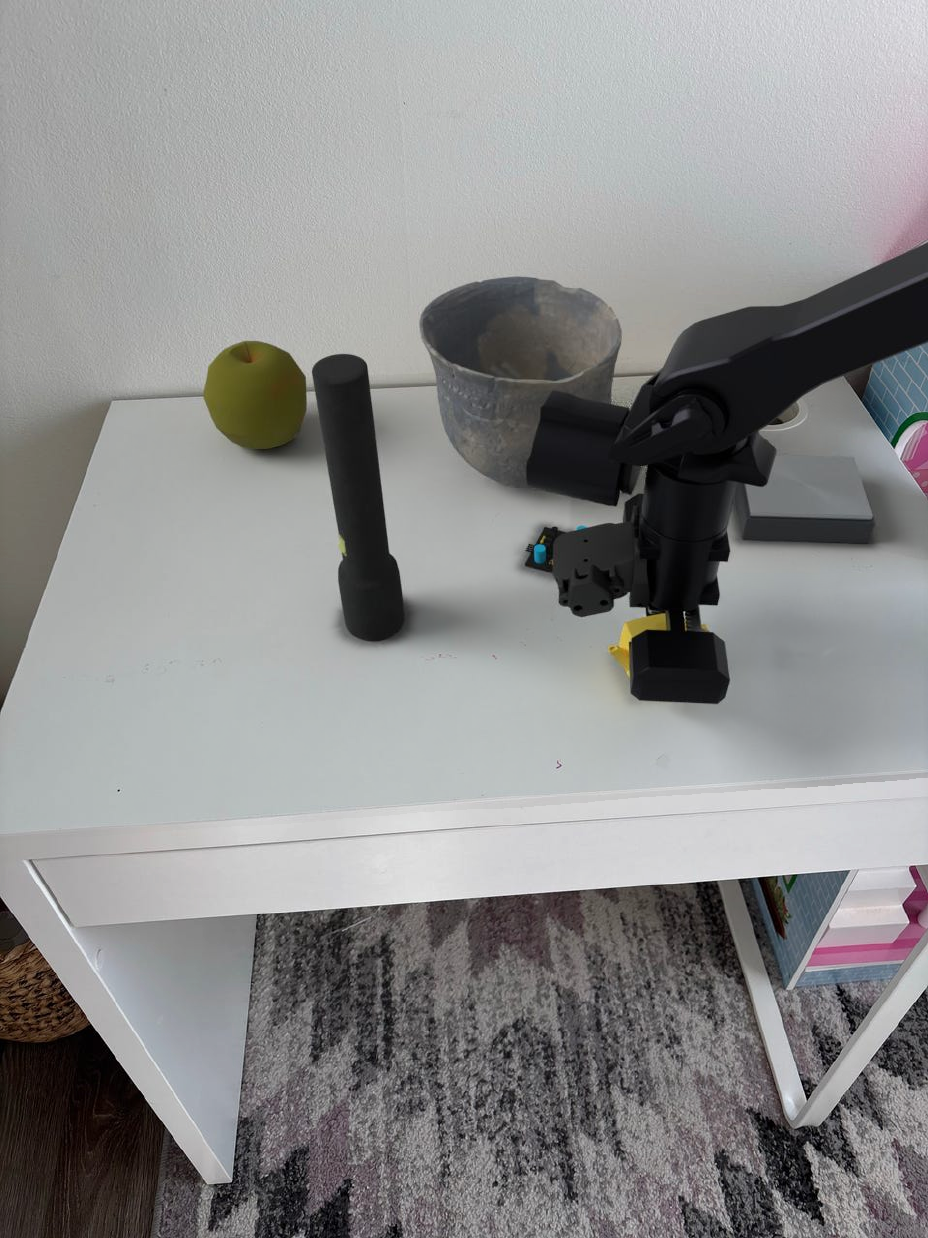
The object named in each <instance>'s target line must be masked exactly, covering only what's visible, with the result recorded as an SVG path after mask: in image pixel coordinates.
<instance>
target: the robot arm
mask: <svg viewBox="0 0 928 1238" xmlns="http://www.w3.org/2000/svg"><path fill="white" fill-rule="evenodd" d="M925 344H928V242H925V243H923V244H921V245H919V246H917V247H914V248H912V249H910V250H907V251H906V252H904V253H901V254H899V255H897V256H894V257H893V258H890V259H888V260H886V261H884V262H882V263H880V264H878V265H875V266H873V267H871V268H869V269H866V270H865V271H863V272H860V273H858V274H856V275H853V276H851V277H849V278H847V279H845V280H843V281H840V282H838V283H836V284H834V285H832V286H830V287H828V288H826V289H824V290H821V291H819V292H817V293H814V294H813V295H811V296H808V297H806V298H804V299H800V300H796V301H794V302H790V303H786V304H783V305H757V306H756V305H755V306H754V305H751V306H746V307H743V308H738V309H736V310H732V311H729V312H725V313H722V314H718V315H715V316H711V317H708V318H704V319H701V320H699V321H696V322H694V323H692V324H691V325H690V326H688V327H687V328H685V329H684V330H682V331H681V333H680V334H679V335H678V337H677V338H676V339H675V342H674V343H673V345H672V347H671V349H670V351H669V354H668V355H667V358H666V359H665V362H664V364H663V366H662V368H660V369H659V370H658V371H657V372H656V373H654V374H653V375H652V376H651V377H649V378H648V380H646V381H645V382H644V383H643V384H642V385H641V386H640V389H639V390H638V392H637V395H636V397H635V399H634V400H633V402H632V404H631V407H629V406H628V407H627V406H623V405H618V404H613V403H611V404H608V403H603V402H598V401H593V400H588V399H583V398H579V397H577V396H575V395H572V394H570V393H566V392H561V391H556V390H552V391H550V392H549V394H548V395H547V397H546V399H545V400H544V402H543V404H542V405H541V407H540V421H539V424H538V427H537V430H536V433H535V437H534V441H533V445H532V450H531V455H530V457H529V458H528V460H527V464H526V480H527V485H528V486H529V488H528V489H532V490H533V489H534V490H538V491H541V492H542V491H543V492H547V493H551V494H556V495H560V496H563V497H564V496H565V497H568V498H572V499H577V500H581V501H587V502H591V503H595V504H600V505H604V506H609V507H617V506H618V503H619V501H620V496H621V493H622V494H623V495H629V496H631V495H632V494H633V492H634V490H635V489H636V486H637V483H638V480H639V477H640V473H641V469H642V467H646V470H645V471H646V472H645V480H644V486H643V487H644V489H643V493H639V492H638V493H636V494H635V495H633V496H632V497H630V498H628V499H627V500H626V501H624V504H623V505H624V506H623V512H622V513H623V514H622V522H618V523H614V522H605V523H601V524H597V525H592V526H586V527H587V528H583V529H579V530H577V529H575V530H571V531H566V532H567V533H564V534H561V535H560V536H558V537H557V538H556V539H555V541H554V544H553V573H552V576H553V578H554V580H555V582H556V585H557V589H558V604H559V605H560V607H561V606H562V607H563V608H565V607H567V608H568V609H570V611H571V614H572V615H573V616H575V617H578V618H586V617H590V616H594V615H601V614H604V613H610V612H611V611H612V610H613V609H614V607H615V600H618V599H621V598H623V597H625V596H627V595H628V594H629V596H628V603H629V608H638V609H639V608H640V609H641V608H642V609H644V608H645V617H647V616H652V615H657V614H663V613H665V616H666V628H667V630H649V629H646V630H645V631H643V632H641V633H639V634H638V635H636V636H634V637H632V638H631V642H629V658H630V661H629V668H630V679H629V687H630V688H629V690H630V695H632V696H633V697H634V698H635V699H637V700H638V701H640V702H641V701H642V702H659V703H660V702H663V703H680V704H681V703H682V704H683V703H684V704H705V705H706V704H707V705H718V704H720V703H721V702H722V701H724V700H725V699H726V697H727V693H728V690H729V686H730V682H731V677H730V669H729V664H728V663H729V662H728V655H727V648H726V642H725V641H724V639H722V638H721V637H720V636H718V635H717V633H715V632H714V631H710V630H709V629H708V630H709V631H708V630H705V629H703V628H702V626H701V624H702V618H701V609H700V606H714V607H715V606H716V607H717V606H718V605H719V602H720V597H721V592H720V586H719V578H718V572H719V568H720V563H722V562H723V563H728V562H729V558H730V554H731V547H730V546H731V545H730V540H729V533H728V526H729V522H730V518H731V514H732V508H733V504H734V501H735V497H734V496H735V491H736V487H737V482H739V483H744V484H748V485H753V486H758V487H764V486H765V485H767V483H768V480H769V477H770V473H771V470H772V467H773V463H774V460H775V456H776V455H777V454H778V453H777V452H778V451H777V448H776V447H775V446H774V445H773V444H772V443H771V442H770V441H769V440H767V438H764V437H763V436H762V435H761V434H760V431H761V430H763V429H764V428H766V427H768V426H769V425H770V424H772V423H773V422H774V421H775V420H776V419H777V418H779V417H780V416H781V415H782V414H784V413H785V412H786V411H787V410H788V409H789V408H791V407H792V406H793V405H794V404H795V403H797V402H798V401H799V400H800V399H802V398H803V397H805V395H807V394H808V393H811V392H812V391H814V390H816V389H818V387H820V386H822V385H824V384H826V383H830V382H832V381H835V380H836V379H840V378H841V377H844V376H847V375H849V374H852V373H854V372H856V371H859V370H862V369H865V368H867V367H870V366H872V365H875V364H877V363H880V362H883V361H884V360H887V359H890V358H892V357H895V356H898V355H900V354H902V353H905V352H907V351H910V350H913V349H915V348H918V347H920V346H923V345H925ZM684 618H685V620H686V622H685V620H684ZM685 623H686V628H687V630H685Z"/></svg>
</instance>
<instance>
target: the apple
mask: <svg viewBox="0 0 928 1238" xmlns="http://www.w3.org/2000/svg"><path fill="white" fill-rule="evenodd" d="M307 395H308V394H307V377H306V375H305V374H304V372H303V370H302V369H301V368H300V366H299V365H298V364H297V362H296V360H295V359H294V357H293V356H292V355H291V353H290V352H288V351H286V350H284V349H282V348H280V347H278V346H277V345H274V344H271V343H268V342H263V341H259V340H243V341H241V342H237V343H234V344H232V345H230V346H228V347H225V348H224V349H223V350H222V351H220V353H218V354H217V356H216V357H215V358H214V359H213V360H212V361H211V363H210V364H209V365H208V366H207V374H206V380H205V384H204V389H203V393H202V398H203V400H204V403H205V405H206V407H207V410H208V413H209V416H210V418H211V421H212V422H213V424H214V426H215V428H216V429H217V430H218V431H219V432H220V433H221V434H222V435H223V436H224V437H226V439H228V440H229V441H230V443H232V444H235V445H237V446H239V447H242V448H246V449H251V450H266V449H272V448H276V447H280V446H283V445H286V444H287V443H289V442H290V441H291V440H294V438H295V437H296V436H297V435H298V433H299V432H300V430H301V427H302V425H303V422H304V419H305V416H306V413H307V410H308V409H307V407H308V403H307V402H308V399H307V397H308V396H307Z"/></svg>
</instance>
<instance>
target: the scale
mask: <svg viewBox="0 0 928 1238" xmlns="http://www.w3.org/2000/svg"><path fill="white" fill-rule="evenodd" d="M865 490H866V489H865V486H864V484H863V481H862V478H861V474H860V471H859V468H858V465H857V463H856V459H855V457H854V456H829V455H828V456H827V455H826V456H825V455H824V456H823V455H790V454H789V455H787V454H785V455H784V454H783V455H782V454H776V456H775V460H774V463H773V467H772V470H771V473H770V477H769V480H768V483H767V485H765V486H764V487H758V486H753V485H748V484H744V483H739V482H737V487H736V491H735V496H734V502H735V508H736V514H737V520H738V525H739V531H740V536H741V540H745V541H746V540H747V541H774V542H775V541H778V542H779V541H781V542H809V543H811V542H812V543H839V544H840V543H841V544H842V543H844V544H868V543H869V541H870V539H871V536H872V534H873V530H874V527H875V525H876V522H875V518H874V515H873V511H872V509H871V506H870V502H869V500H868V497H867V493H866V491H865Z"/></svg>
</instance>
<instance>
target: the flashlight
mask: <svg viewBox="0 0 928 1238" xmlns="http://www.w3.org/2000/svg"><path fill="white" fill-rule="evenodd" d="M311 375H312V383H313V388H314V393H315V399H316V405H317V411H318V412H317V413H318V417H319V424H320V430H321V437H322V442H323V448H324V449H323V450H324V455H325V460H326V467H327V473H328V478H329V485H330V490H331V496H332V503H333V509H334V514H335V521H336V526H337V531H338V532H337V533H338V534H337V535H338V542H339V543H338V549H339V551H340V552H341V557H342V560H341V561H340V563H339V565H338V569H337V582H338V588H339V595H340V601H341V607H342V612H343V613H342V614H343V618H344V619H343V620H344V624H345V627H346V629H347V630H348V632H349V633H350V634H351V635H352V636H354V637H355V638H357V639H360V640H363V641H369V642H374V641H375V642H376V641H382V640H386V639H388V638H390V637H392V636H393V635H396V634H397V633H398V632H399V631H400V630H401V628H402V627H403V626H404V623H405V620H406V614H405V606H404V596H403V587H402V580H401V572H400V568H399V564H398V561H397V559H396V557H394V556H393V555H392V554H391V552H390V547H389V539H388V531H387V530H388V529H387V520H386V514H385V513H386V512H385V504H384V495H383V487H382V479H381V470H380V461H379V453H378V445H377V435H376V427H375V418H374V409H373V403H372V395H371V393H372V392H371V386H370V385H371V384H370V375H369V367H368V363H367V361H365V359H364V358H362V357H361V356H358V355H355V354H351V353H336V354H331V355H327V356H325V357H323V358H321V359H319V360H318V361H317V362H315V364H313V367H312V369H311Z"/></svg>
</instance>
